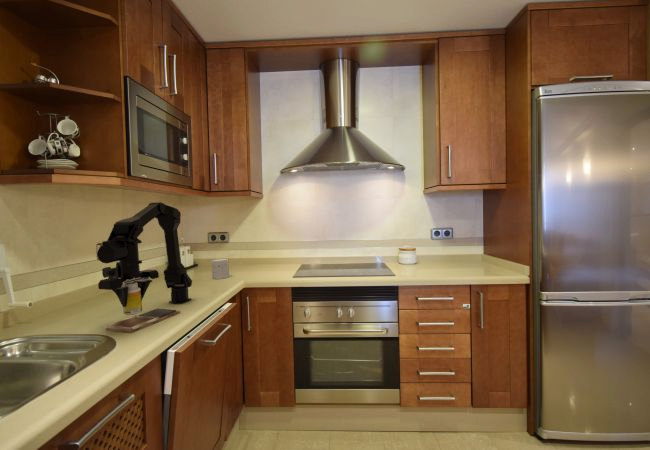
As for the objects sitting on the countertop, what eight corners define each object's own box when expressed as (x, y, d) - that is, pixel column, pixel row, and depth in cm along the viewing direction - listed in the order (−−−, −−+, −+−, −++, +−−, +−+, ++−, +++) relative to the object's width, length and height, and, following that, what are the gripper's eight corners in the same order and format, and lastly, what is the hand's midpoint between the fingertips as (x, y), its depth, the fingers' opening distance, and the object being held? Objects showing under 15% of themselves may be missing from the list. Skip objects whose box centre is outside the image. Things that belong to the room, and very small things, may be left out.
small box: (224, 276, 196) (224, 258, 196) (229, 277, 192) (228, 259, 192) (211, 278, 191) (210, 260, 190) (216, 279, 187) (215, 261, 186)
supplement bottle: (144, 312, 114) (142, 282, 113) (126, 316, 110) (124, 286, 109) (139, 309, 118) (136, 280, 117) (121, 313, 114) (118, 283, 113)
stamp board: (157, 311, 130) (157, 307, 130) (180, 313, 127) (180, 309, 126) (106, 330, 111) (105, 325, 110) (131, 333, 107) (130, 328, 107)
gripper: (135, 254, 124) (138, 295, 125) (84, 262, 107) (87, 310, 108) (158, 254, 121) (161, 297, 121) (109, 263, 103) (113, 313, 104)
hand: (132, 304), depth 114 cm, fingers closed on supplement bottle, 5 cm apart
